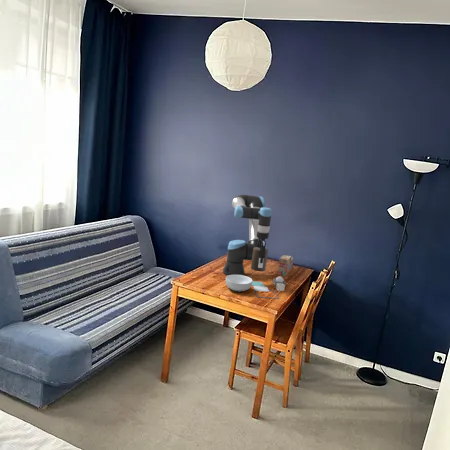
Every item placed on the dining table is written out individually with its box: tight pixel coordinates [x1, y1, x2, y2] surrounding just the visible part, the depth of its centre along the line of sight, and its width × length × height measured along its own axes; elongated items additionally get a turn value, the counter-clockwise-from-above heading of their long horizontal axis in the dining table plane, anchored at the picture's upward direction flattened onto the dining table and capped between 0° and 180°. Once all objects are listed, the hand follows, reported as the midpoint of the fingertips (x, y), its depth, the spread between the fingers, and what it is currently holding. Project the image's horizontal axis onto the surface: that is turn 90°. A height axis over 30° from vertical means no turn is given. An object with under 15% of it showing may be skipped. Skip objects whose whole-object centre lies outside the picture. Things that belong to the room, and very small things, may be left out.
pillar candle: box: [250, 247, 269, 272], centre depth 270 cm, size 10×10×15 cm
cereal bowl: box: [225, 275, 253, 293], centre depth 258 cm, size 17×17×7 cm
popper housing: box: [272, 278, 287, 287], centre depth 278 cm, size 7×7×2 cm
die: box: [275, 283, 286, 292], centre depth 266 cm, size 4×4×4 cm
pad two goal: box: [251, 280, 265, 287], centre depth 273 cm, size 9×8×1 cm
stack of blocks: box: [276, 254, 294, 277], centre depth 307 cm, size 21×6×12 cm, turn 158°
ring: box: [253, 288, 280, 300], centre depth 256 cm, size 13×13×1 cm
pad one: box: [252, 285, 270, 293], centre depth 264 cm, size 9×8×1 cm
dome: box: [275, 275, 285, 282], centre depth 277 cm, size 5×5×5 cm
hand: (258, 265), depth 270 cm, fingers closed on pillar candle, 10 cm apart
